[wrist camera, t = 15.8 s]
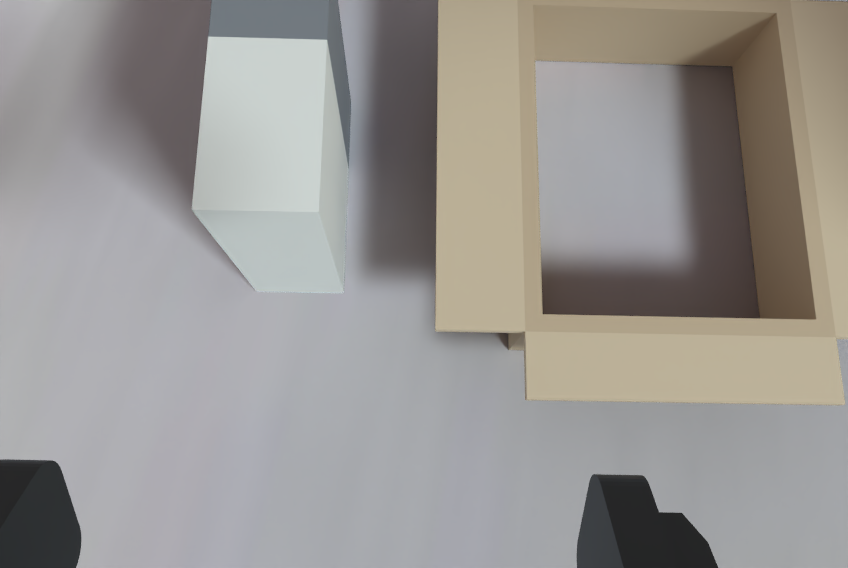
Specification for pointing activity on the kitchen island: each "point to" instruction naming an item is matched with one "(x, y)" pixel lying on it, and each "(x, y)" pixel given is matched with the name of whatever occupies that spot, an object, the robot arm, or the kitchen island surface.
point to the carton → (764, 181)
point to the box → (276, 142)
